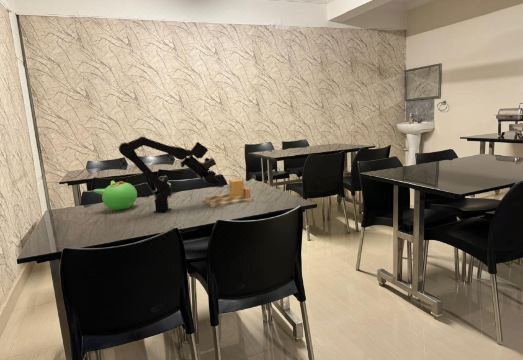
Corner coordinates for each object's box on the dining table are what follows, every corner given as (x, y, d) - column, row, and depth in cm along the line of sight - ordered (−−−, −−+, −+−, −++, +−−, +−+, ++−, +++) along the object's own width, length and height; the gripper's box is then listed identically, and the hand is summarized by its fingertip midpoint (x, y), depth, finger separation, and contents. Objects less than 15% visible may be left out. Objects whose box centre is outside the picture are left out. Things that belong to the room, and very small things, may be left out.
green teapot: (125, 213, 179) (121, 184, 177) (95, 213, 183) (91, 185, 180) (144, 204, 197) (141, 177, 194) (116, 204, 200) (112, 177, 197)
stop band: (246, 198, 190) (246, 189, 189) (239, 194, 201) (238, 185, 200) (250, 198, 191) (249, 189, 190) (242, 194, 202) (241, 185, 201)
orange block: (233, 198, 191) (232, 182, 189) (229, 196, 196) (228, 180, 194) (244, 197, 193) (243, 180, 191) (240, 195, 198) (239, 178, 197)
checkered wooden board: (211, 207, 182) (211, 201, 182) (204, 201, 195) (204, 196, 195) (252, 200, 191) (252, 195, 190) (243, 195, 203) (242, 190, 203)
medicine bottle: (169, 198, 208) (166, 177, 205) (156, 198, 208) (154, 178, 205) (172, 195, 215) (170, 175, 212) (160, 195, 215) (158, 175, 212)
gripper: (210, 155, 176) (233, 175, 182) (201, 151, 193) (222, 170, 199) (195, 173, 174) (219, 192, 181) (187, 168, 191) (209, 186, 197)
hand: (218, 184), depth 189 cm, fingers closed
